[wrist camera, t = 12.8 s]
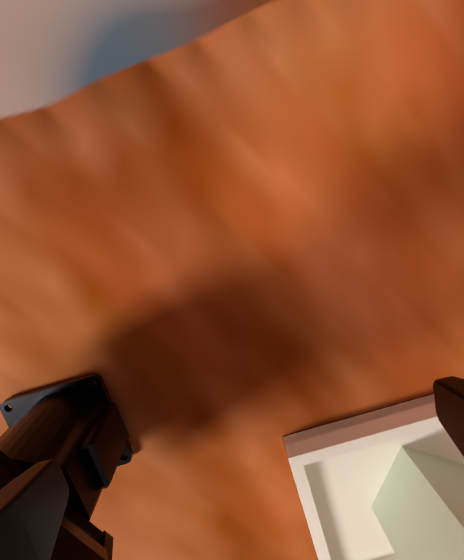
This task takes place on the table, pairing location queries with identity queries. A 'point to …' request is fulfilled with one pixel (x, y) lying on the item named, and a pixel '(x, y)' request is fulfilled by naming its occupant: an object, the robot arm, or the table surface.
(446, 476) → the sage block
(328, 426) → the tray
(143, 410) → the table surface
